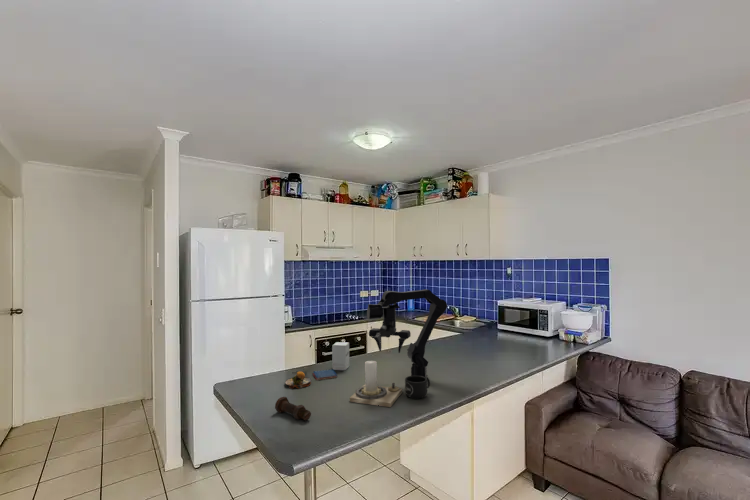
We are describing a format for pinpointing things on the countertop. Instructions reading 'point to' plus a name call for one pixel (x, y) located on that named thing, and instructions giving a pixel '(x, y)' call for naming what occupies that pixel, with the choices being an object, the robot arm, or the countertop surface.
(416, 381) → the mug
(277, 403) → the bolt
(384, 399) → the gear board
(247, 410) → the countertop surface
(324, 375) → the woven mat
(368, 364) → the gear spindle
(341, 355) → the supplement box
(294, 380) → the burger
